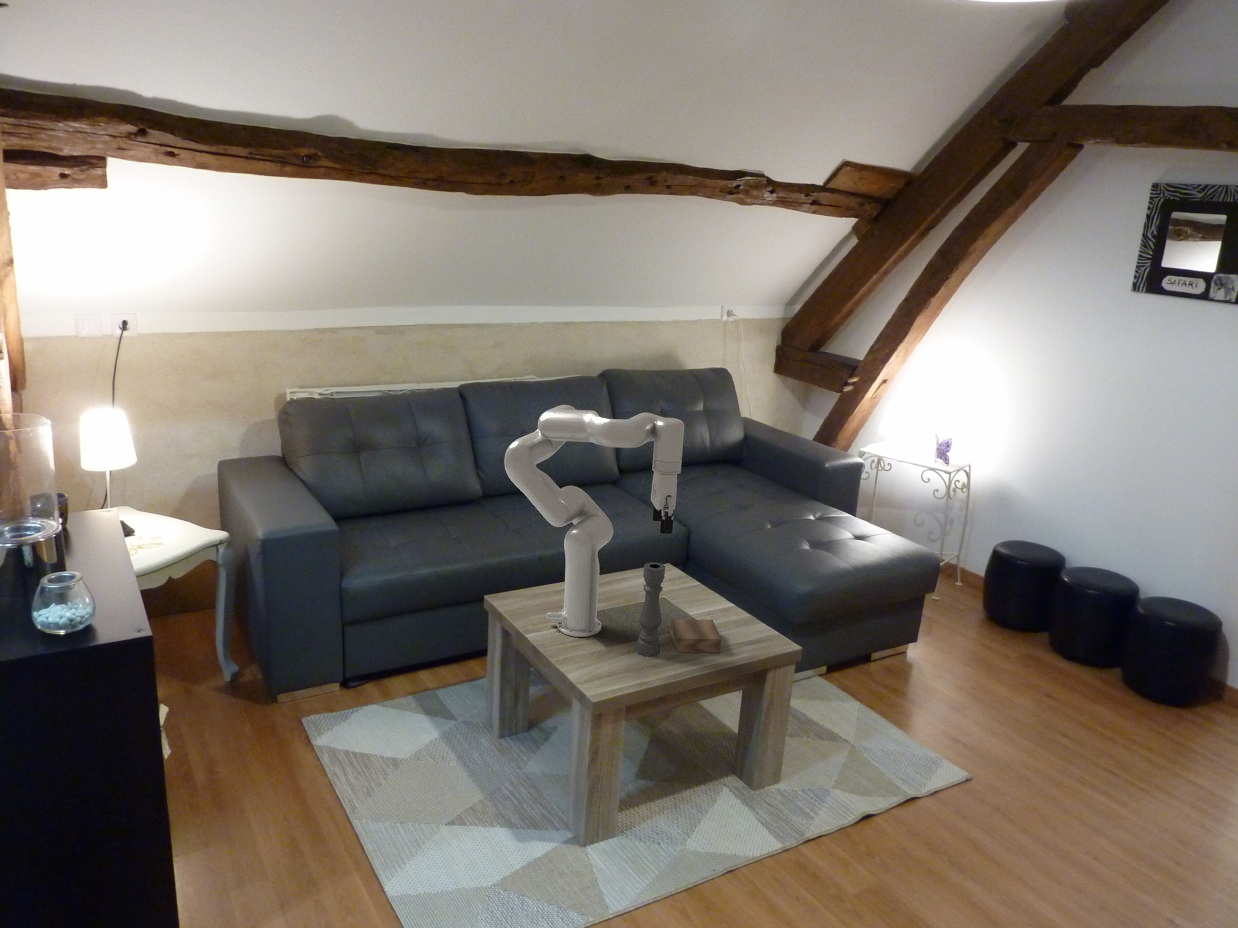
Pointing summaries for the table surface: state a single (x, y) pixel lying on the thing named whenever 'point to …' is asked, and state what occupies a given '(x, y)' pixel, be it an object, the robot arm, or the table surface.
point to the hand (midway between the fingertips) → (662, 526)
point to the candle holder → (651, 610)
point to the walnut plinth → (695, 635)
